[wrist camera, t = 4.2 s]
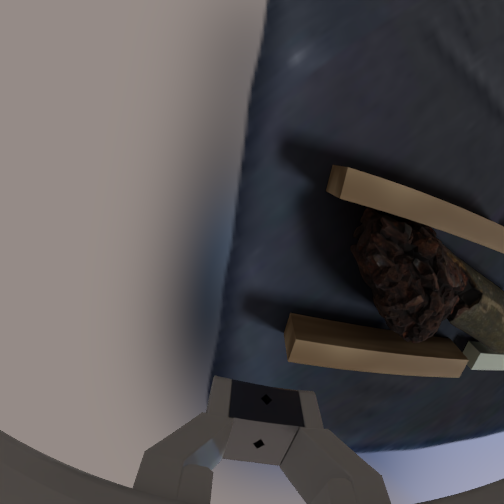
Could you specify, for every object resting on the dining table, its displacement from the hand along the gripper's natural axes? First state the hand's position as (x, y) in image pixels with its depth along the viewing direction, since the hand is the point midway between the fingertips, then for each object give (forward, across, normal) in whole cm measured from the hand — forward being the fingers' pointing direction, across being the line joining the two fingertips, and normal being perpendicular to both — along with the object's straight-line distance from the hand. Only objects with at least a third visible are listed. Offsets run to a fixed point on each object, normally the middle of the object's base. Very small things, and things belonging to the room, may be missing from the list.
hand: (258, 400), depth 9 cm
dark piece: (+16, -16, 0) cm, 23 cm away
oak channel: (+16, -12, 0) cm, 20 cm away
